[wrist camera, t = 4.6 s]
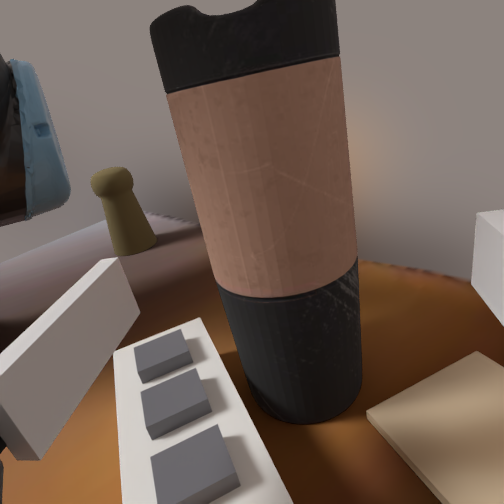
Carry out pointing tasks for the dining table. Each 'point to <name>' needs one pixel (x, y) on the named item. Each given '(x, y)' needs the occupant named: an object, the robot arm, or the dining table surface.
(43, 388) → the robot arm
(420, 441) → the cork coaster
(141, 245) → the pepper shaker
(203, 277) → the dining table surface
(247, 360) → the travel mug
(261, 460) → the socket strip
